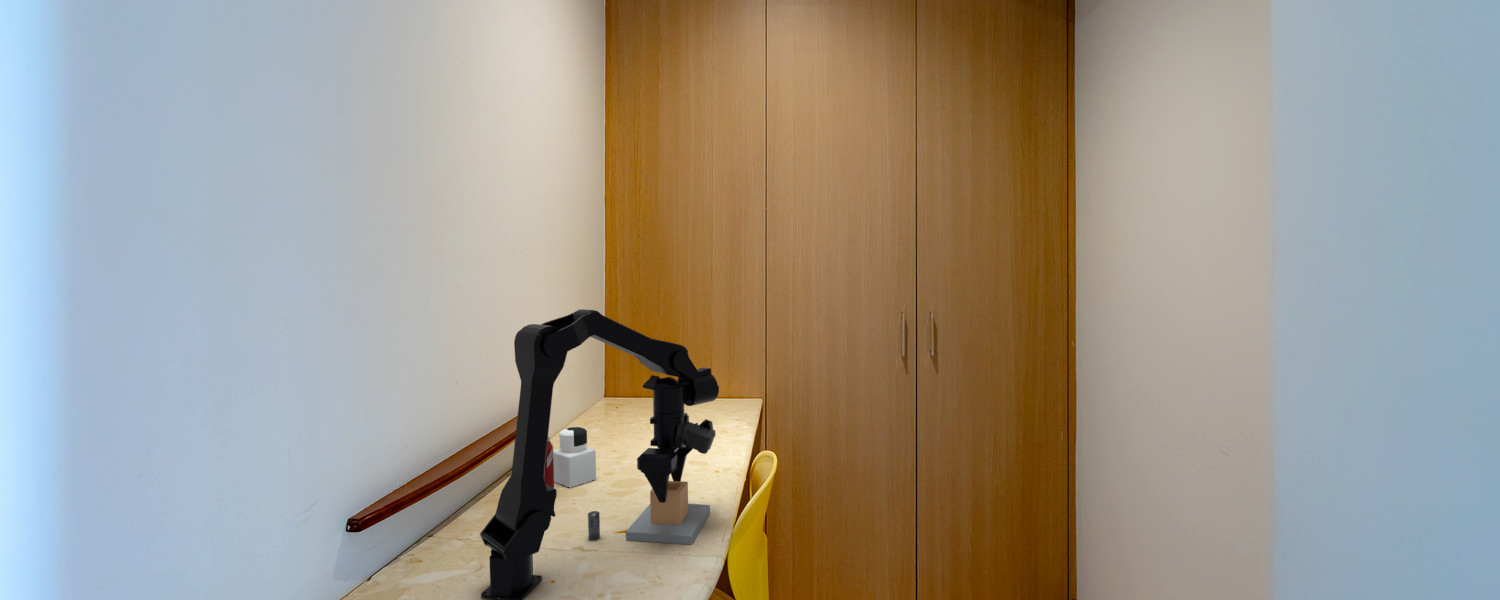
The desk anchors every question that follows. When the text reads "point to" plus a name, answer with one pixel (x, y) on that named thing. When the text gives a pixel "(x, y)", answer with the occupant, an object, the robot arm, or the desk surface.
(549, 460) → the soda can
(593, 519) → the dark grey cylinder
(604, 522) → the desk surface
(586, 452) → the medicine bottle
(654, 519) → the brown square box
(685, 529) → the board
